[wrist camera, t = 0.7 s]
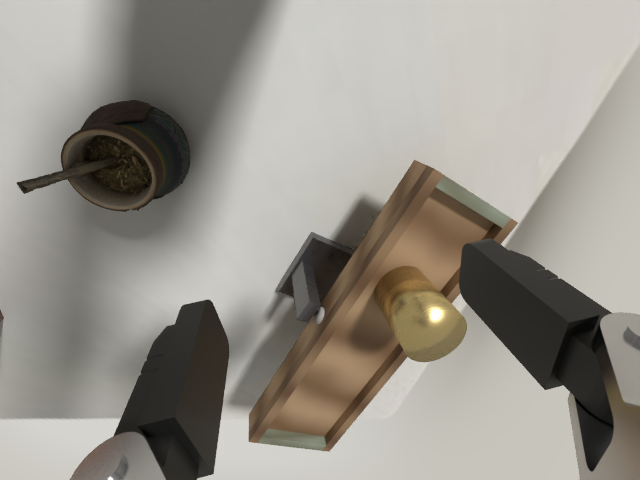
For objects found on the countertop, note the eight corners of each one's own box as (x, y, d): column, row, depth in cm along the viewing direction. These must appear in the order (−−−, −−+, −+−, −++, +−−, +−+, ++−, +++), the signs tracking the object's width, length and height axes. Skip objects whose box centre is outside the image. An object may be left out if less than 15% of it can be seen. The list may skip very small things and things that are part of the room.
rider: (395, 258, 26) (431, 301, 20) (436, 276, 28) (479, 321, 22) (364, 302, 27) (390, 353, 22) (405, 317, 29) (438, 367, 24)
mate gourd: (210, 173, 28) (184, 226, 19) (129, 191, 28) (67, 251, 19) (176, 87, 24) (125, 106, 15) (82, 108, 24) (-22, 138, 15)
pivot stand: (311, 231, 33) (323, 277, 26) (407, 273, 38) (437, 320, 31) (278, 284, 36) (281, 338, 29) (371, 316, 41) (391, 367, 34)
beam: (412, 158, 24) (432, 167, 21) (494, 211, 28) (519, 223, 25) (247, 414, 34) (246, 441, 31) (325, 426, 38) (330, 451, 35)
